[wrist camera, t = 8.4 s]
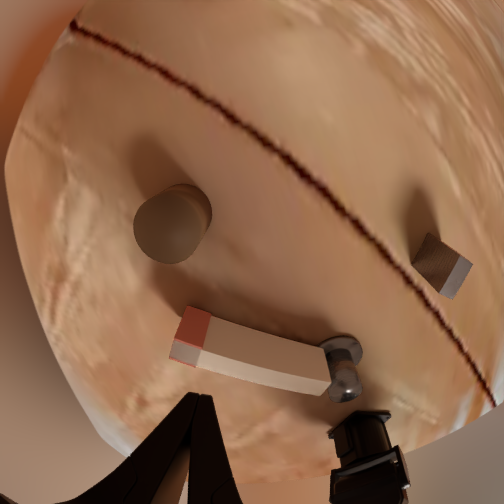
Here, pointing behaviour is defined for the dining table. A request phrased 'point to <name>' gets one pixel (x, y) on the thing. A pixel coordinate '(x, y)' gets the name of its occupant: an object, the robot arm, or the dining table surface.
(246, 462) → the dining table surface
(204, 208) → the cylinder
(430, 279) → the block
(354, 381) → the flanged metal peg
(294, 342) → the white rectangular bar
